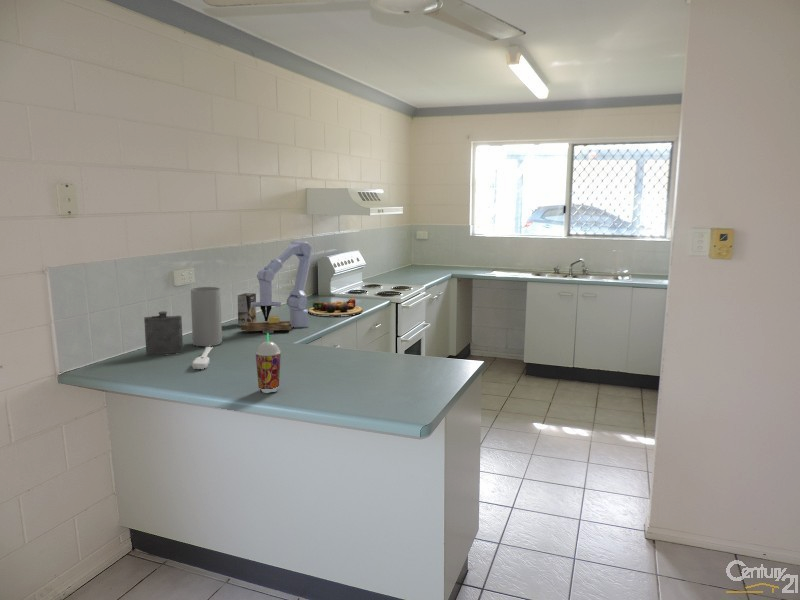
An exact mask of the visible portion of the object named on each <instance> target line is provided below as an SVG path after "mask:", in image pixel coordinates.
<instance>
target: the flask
mask: <svg viewBox="0 0 800 600" xmlns="http://www.w3.org/2000/svg"><path fill="white" fill-rule="evenodd" d="M167 314H168V311H167V310H166V311H163V310H162V311H158V315H154V316H153V315H152V316H145V317H143V318H144V336H145V337H144V340H145V355H146V356H167V355H166V354H171V355H177V354H176V353H181V354H183V353H184V347H183V346H184V343H183V321H182V320H183V319H182V315H168V316H167ZM182 352H183V353H182Z"/></svg>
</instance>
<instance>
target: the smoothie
mask: <svg viewBox="0 0 800 600" xmlns="http://www.w3.org/2000/svg"><path fill="white" fill-rule="evenodd" d="M269 337H270V334H269V333H267V334H266V341H263V342H262V343H260V345H258V347H257V349H256V351H255V361H256V363H255V364H256V372H257V374H256V375H257V384H258V389H259V388H261V389H273V388H276V387H278V386H279V387H280V375H281V374H280V373H281V355H282V354H281V353H282V351H281V350H280V348H279V346H278V345H277V344H276V343H275V342H274V341H272V340H271V341H270V338H269Z"/></svg>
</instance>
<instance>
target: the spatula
mask: <svg viewBox="0 0 800 600" xmlns="http://www.w3.org/2000/svg"><path fill="white" fill-rule="evenodd" d="M212 349H214V346H212V347H204V350H203V352H202V353H201V355H200V356H197V357H195V358H194V360H193V361H192V362H191V363H192V364H191V365H192V369H193V370H195V369H201V370H205V369H208V367H209V365H210V357H209V356H208V355H209V354H210V352H211V350H212ZM208 364H209V365H208ZM204 368H205V369H204Z"/></svg>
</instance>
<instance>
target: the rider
mask: <svg viewBox="0 0 800 600" xmlns="http://www.w3.org/2000/svg"><path fill="white" fill-rule="evenodd" d="M279 321H280V316H279V315H269V316H268V322H269V324H273V323H275V324H279Z"/></svg>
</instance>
